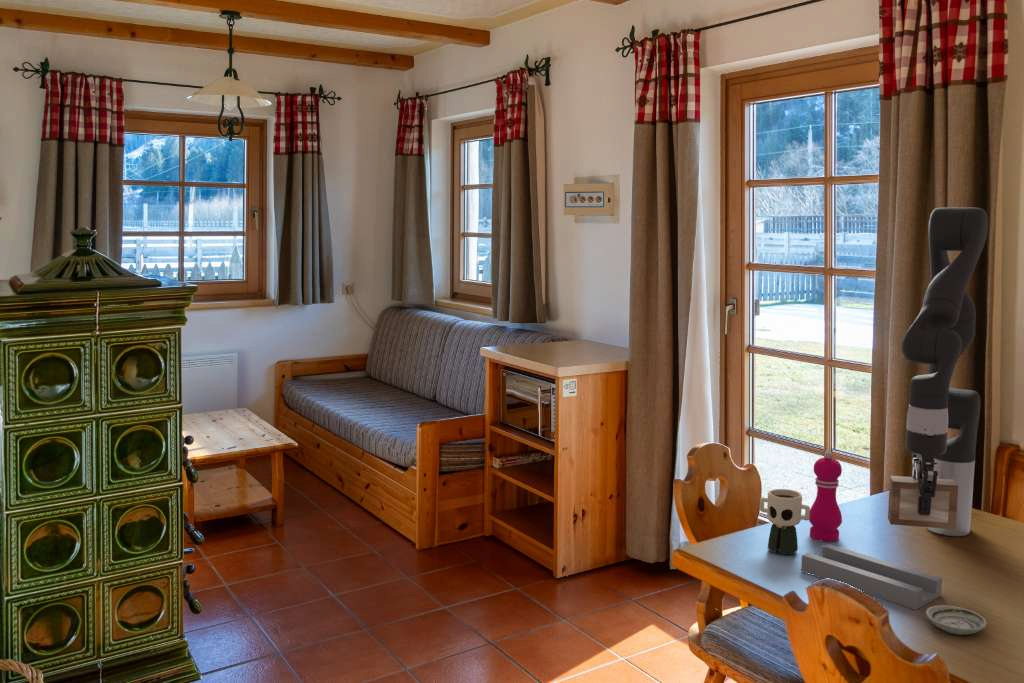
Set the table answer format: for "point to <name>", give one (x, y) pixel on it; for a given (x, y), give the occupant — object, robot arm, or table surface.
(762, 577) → the table surface
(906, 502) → the wooden framed block
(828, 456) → the pepper mill
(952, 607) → the saucer
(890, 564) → the picture ledge
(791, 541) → the character mug
